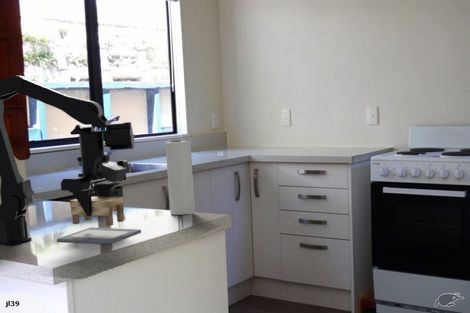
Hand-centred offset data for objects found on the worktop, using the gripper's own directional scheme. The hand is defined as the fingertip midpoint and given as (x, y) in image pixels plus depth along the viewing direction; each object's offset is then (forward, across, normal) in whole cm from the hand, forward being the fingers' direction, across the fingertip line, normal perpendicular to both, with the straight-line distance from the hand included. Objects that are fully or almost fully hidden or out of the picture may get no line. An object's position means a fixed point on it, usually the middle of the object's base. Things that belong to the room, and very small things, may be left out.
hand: (97, 213), depth 147 cm
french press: (+6, +32, +27) cm, 42 cm away
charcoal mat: (+6, 0, 0) cm, 6 cm away
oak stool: (+2, 0, 0) cm, 2 cm away
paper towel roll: (+6, +30, -6) cm, 31 cm away
